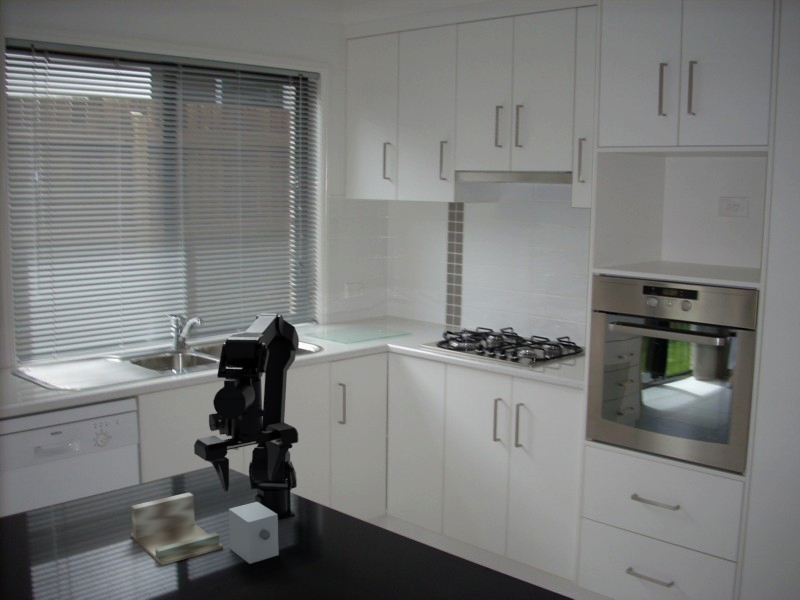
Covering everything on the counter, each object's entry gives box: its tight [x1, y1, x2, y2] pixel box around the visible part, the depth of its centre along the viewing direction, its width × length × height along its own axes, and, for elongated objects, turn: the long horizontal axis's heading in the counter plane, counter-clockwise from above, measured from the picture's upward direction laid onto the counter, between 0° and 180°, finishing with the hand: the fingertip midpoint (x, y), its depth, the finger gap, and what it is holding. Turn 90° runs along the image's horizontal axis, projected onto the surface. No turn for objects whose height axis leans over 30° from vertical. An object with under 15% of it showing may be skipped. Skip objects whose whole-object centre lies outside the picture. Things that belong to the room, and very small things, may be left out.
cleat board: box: [130, 491, 224, 566], centre depth 165 cm, size 12×16×7 cm
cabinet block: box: [228, 502, 280, 564], centre depth 160 cm, size 6×9×8 cm, turn 37°
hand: (248, 485), depth 159 cm, fingers open, 9 cm apart
